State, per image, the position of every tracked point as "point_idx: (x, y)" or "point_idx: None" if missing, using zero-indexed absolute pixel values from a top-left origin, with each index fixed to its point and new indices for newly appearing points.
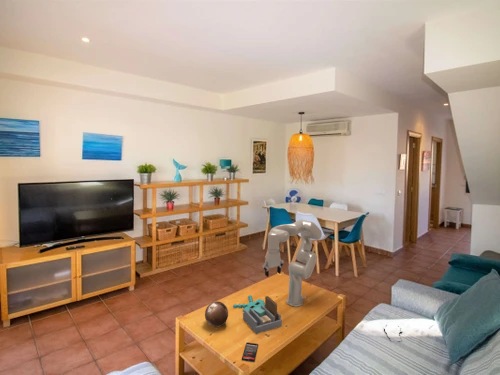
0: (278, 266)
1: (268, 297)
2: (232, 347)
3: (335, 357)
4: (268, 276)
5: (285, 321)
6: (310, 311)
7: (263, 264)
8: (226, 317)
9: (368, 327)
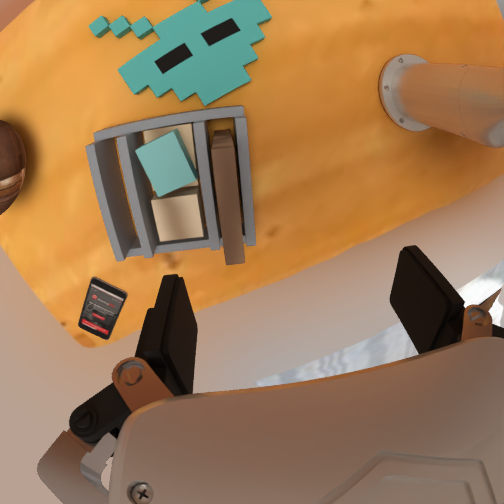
0: (454, 340)
1: (228, 169)
2: (55, 280)
3: (309, 367)
4: (195, 328)
5: (287, 205)
6: (419, 181)
7: (68, 501)
8: (11, 201)
9: None
